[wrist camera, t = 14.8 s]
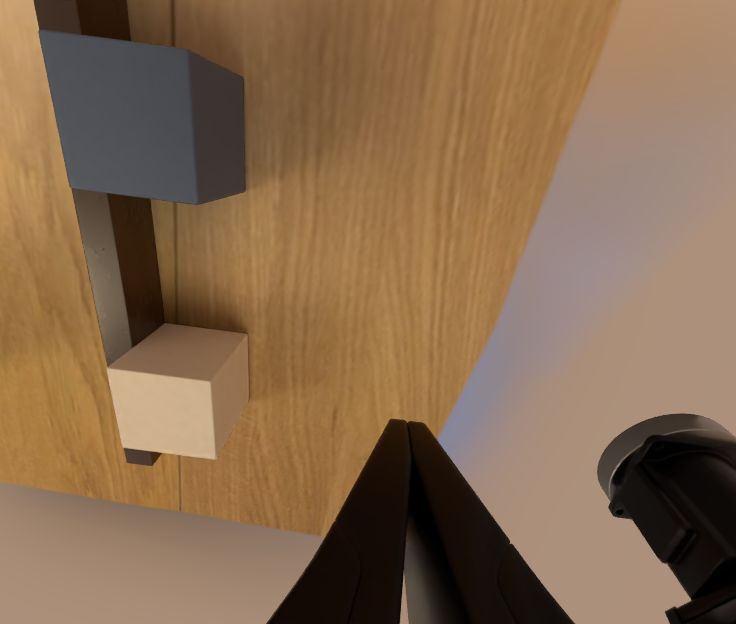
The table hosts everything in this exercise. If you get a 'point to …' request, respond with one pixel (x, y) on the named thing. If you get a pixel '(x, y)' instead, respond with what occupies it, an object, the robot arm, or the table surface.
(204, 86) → the slate block
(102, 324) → the straightedge
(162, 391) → the cream block
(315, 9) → the table surface
